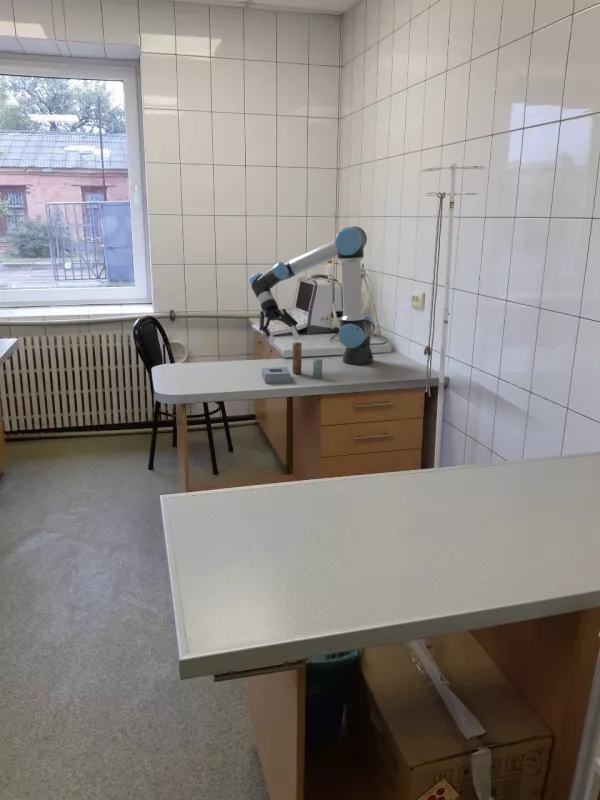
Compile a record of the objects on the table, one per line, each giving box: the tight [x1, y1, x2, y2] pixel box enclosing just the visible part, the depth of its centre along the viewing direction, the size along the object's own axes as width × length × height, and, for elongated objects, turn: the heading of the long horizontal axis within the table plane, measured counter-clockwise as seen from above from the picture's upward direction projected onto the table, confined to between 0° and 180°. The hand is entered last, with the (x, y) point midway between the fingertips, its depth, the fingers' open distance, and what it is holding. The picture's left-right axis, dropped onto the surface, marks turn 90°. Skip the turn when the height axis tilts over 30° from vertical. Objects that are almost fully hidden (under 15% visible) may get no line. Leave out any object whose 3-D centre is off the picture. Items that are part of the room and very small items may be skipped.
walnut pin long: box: [292, 341, 303, 375], centre depth 282 cm, size 4×4×14 cm
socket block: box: [261, 366, 291, 384], centre depth 274 cm, size 11×11×4 cm
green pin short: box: [312, 358, 323, 379], centre depth 277 cm, size 4×4×8 cm
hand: (285, 340), depth 286 cm, fingers open, 13 cm apart
